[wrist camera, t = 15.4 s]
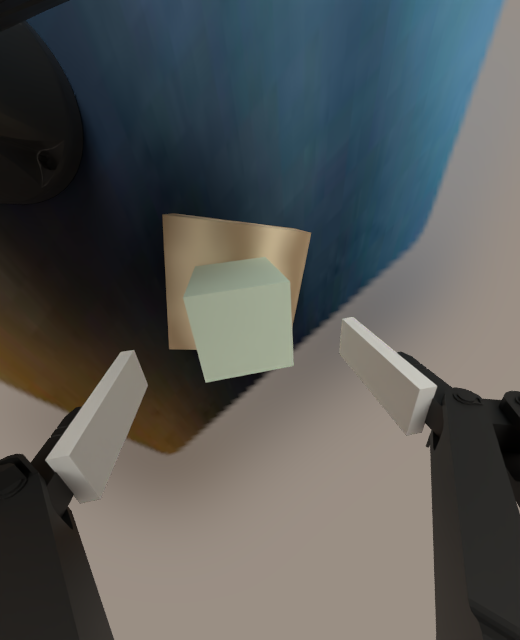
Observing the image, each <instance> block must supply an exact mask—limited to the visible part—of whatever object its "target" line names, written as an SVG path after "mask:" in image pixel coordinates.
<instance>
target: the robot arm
mask: <svg viewBox="0 0 520 640" xmlns="http://www.w3.org/2000/svg"><path fill="white" fill-rule="evenodd" d="M67 1H69V0H0V204H32V203H38V202H42V201H45V200H48V199H50V198H52V197H54V196H56V195H57V194H59V193H60V192H61V191H63V190H64V189H65V188H66V187H67V186H68V185H69V183H70V182H71V181H72V179H73V178H74V176H75V174H76V172H77V170H78V167H79V165H80V161H81V156H82V150H83V130H82V123H81V117H80V113H79V109H78V105H77V102H76V99H75V96H74V93H73V91H72V89H71V86H70V84H69V82H68V80H67V78H66V76H65V74H64V72H63V70H62V68H61V66H60V65H59V63H58V61H57V60H56V58H55V57H54V55H53V54H52V52H51V51H50V49H49V48H48V47H47V45H46V44H45V43H44V41H43V40H42V39H41V37H40V36H39V35H38V34H37V33H36V31H35V30H34V29H33V28H32V27H31V26H30V25H29V24H28V23H27V22H26V21H25V20H27V19H29V18H31V17H33V16H35V15H37V14H40V13H42V12H44V11H46V10H48V9H51V8H53V7H55V6H57V5H60V4H62V3H64V2H67ZM339 354H340V355H341V356H342V357H343V359H344V360H345V361H346V362H347V364H348V365H349V366H350V367H351V369H352V370H353V371H354V372H355V373H356V375H357V376H358V377H359V378H360V380H361V381H362V382H363V383H364V384H365V386H366V387H367V388H368V389H369V391H370V392H371V393H372V394H373V396H374V397H375V398H376V399H377V400H378V402H379V403H380V404H381V405H382V406H383V408H384V409H385V410H386V411H387V413H388V414H389V415H390V416H391V418H392V419H393V420H394V421H395V422H396V424H397V425H398V426H399V427H400V429H401V430H402V431H403V432H404V433H405V435H412V434H417V433H421V432H422V430H423V427H424V424H425V423H426V424H427V425H428V426H429V427H430V429H431V433H430V436H429V439H428V442H427V444H426V447H429V446H430V453H431V482H432V483H431V484H432V514H433V543H434V544H433V546H434V577H435V606H436V640H520V514H519V510H518V507H517V504H518V505H519V507H520V392H518V391H509V392H506V393H505V395H504V397H503V399H502V400H492V399H482V398H481V397H480V396H478V395H477V394H475V393H473V392H471V391H469V390H466V389H462V388H452V387H451V386H449V385H448V384H447V383H445V382H444V381H443V380H442V379H440V378H439V377H438V376H436V375H435V374H434V373H432V372H431V371H430V370H429V369H426V367H425V366H423V365H422V364H420V363H419V362H418V361H417V360H416V359H414V358H413V357H412V356H409V355H407V354H405V353H403V352H397V353H396V352H395V351H394V350H393V349H391V348H390V347H389V346H388V345H386V344H385V343H384V342H383V341H382V340H380V339H379V338H378V337H376V336H375V335H374V334H373V333H372V332H370V331H369V330H368V329H367V328H366V327H365V326H363V325H362V324H361V323H360V322H358V321H357V320H356V319H355V318H353V317H350V318H344V319H342V325H341V338H340V350H339ZM147 386H148V384H147V381H146V379H145V376H144V374H143V371H142V369H141V366H140V364H139V361H138V359H137V356H136V354H135V351H134V350H131V351H124V352H120V354H119V355H118V357H117V358H116V359H115V361H114V362H113V364H112V365H111V367H110V368H109V369H108V371H107V372H106V374H105V375H104V377H103V378H102V379H101V381H100V382H99V384H98V385H97V387H96V388H95V389H94V391H93V392H92V394H91V395H90V397H89V398H88V399H87V401H86V402H85V404H84V405H83V406H82V407H77V408H75V409H74V410H73V411H71V412H70V413H69V414H68V415H67V416H66V417H65V418H64V419H63V420H62V422H61V423H60V424H59V426H58V427H57V429H56V430H55V431H54V432H53V434H52V435H51V438H49V439H48V440H47V442H46V443H45V444H44V446H43V447H42V448H41V450H40V451H39V452H38V454H37V455H36V456H35V458H34V459H33V460H32V462H31V463H30V462H29V461H28V460H27V459H26V457H25V456H24V455H23V454H14V455H10V456H7V457H5V458H3V459H1V460H0V640H114V638H113V635H112V632H111V629H110V626H109V623H108V620H107V617H106V614H105V611H104V608H103V605H102V602H101V599H100V596H99V593H98V590H97V587H96V584H95V581H94V578H93V575H92V572H91V569H90V565H89V562H88V560H87V556H86V553H85V550H84V547H83V544H82V541H81V538H80V535H79V532H78V529H77V526H76V523H75V520H74V517H73V514H72V511H71V510H70V509H69V507H68V505H69V503H70V501H71V499H72V497H73V495H74V497H75V498H76V499H77V500H78V501H79V503H85V502H90V501H95V500H99V499H101V497H102V495H103V492H104V490H105V487H106V485H107V483H108V480H109V478H110V476H111V473H112V471H113V468H114V466H115V463H116V461H117V459H118V456H119V454H120V451H121V449H122V447H123V444H124V442H125V439H126V437H127V435H128V432H129V430H130V427H131V425H132V422H133V420H134V418H135V415H136V413H137V410H138V408H139V406H140V403H141V401H142V398H143V396H144V394H145V391H146V389H147ZM516 502H517V503H516Z"/></svg>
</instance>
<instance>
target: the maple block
mask: <svg viewBox="0 0 520 640" xmlns="http://www.w3.org/2000/svg"><path fill="white" fill-rule="evenodd" d="M162 216H163V236H164V256H165V276H166V296H167V316H168V336H169V349H185V350H197V348H196V345H195V341H194V337H193V333H192V330H191V326H190V322H189V318H188V314H187V311H186V307H185V303H184V299H183V296H184V294H185V291H186V288H187V286H188V283H189V281H190V278H191V276H192V273H193V271H194V268H195V266H201V265H208V264H216V263H223V262H230V261H238V260H245V259H252V258H260V257H266V258H267V259H268V260H269V261H270V262H271V263H272V264H273V265H274V266H275V267H276V268H277V269H278V270H279V271H280V272H281V273H282V274H283V275H284V276H285V277H286V278H287V279H288V280H289V281H290V291H291V314H292V326H293V321H294V316H295V311H296V306H297V301H298V296H299V291H300V286H301V281H302V276H303V271H304V266H305V261H306V256H307V251H308V246H309V241H310V236H311V233H310V232H306V231H302V230H298V229H294V228H286V227H278V226H270V225H262V224H254V223H246V222H238V221H230V220H222V219H214V218H206V217H198V216H190V215H182V214H163V215H162Z"/></svg>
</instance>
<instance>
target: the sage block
mask: <svg viewBox="0 0 520 640" xmlns="http://www.w3.org/2000/svg"><path fill="white" fill-rule="evenodd" d="M183 299H184V303H185V307H186V311H187V314H188V318H189V322H190V326H191V330H192V333H193V337H194V341H195V345H196V348H197V352H198V356H199V360H200V363H201V367H202V371H203V375H204V378H205V382H212V381H217V380H222V379H227V378H233V377H238V376H243V375H249V374H254V373H259V372H264V371H270V370H275V369H280V368H285V367H291V366H293V365H294V362H293V337H292V314H291V291H290V281H289V280H288V279H287V278H286V277H285V276H284V275H283V274H282V273H281V272H280V271H279V270H278V269H277V268H276V267H275V266H274V265H273V264H272V263H271V262H270V261H269V260H268V259H267V258H266V257H260V258H252V259H245V260H238V261H230V262H223V263H216V264H208V265H201V266H195V268H194V271H193V273H192V276H191V278H190V281H189V283H188V286H187V288H186V291H185V294H184V296H183Z"/></svg>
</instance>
